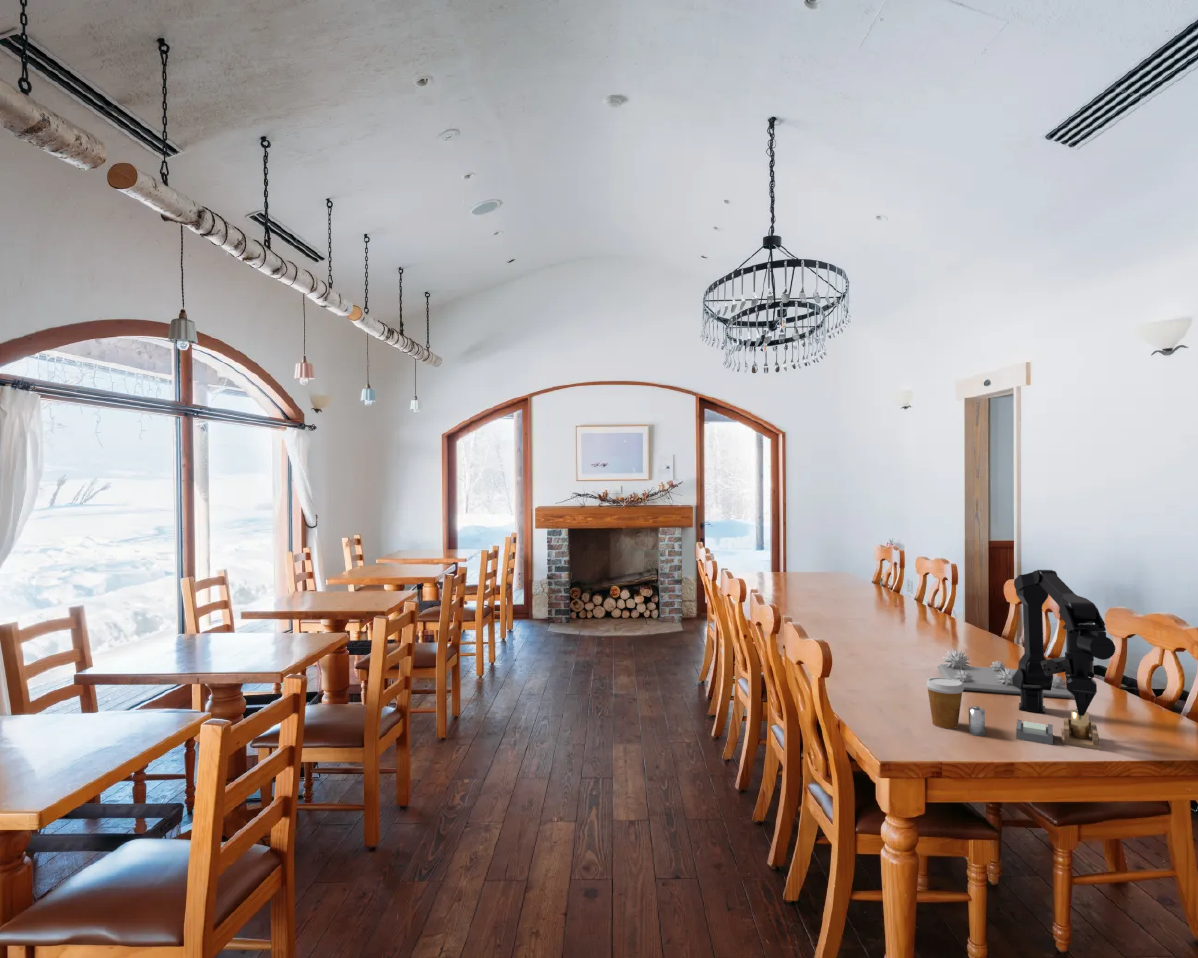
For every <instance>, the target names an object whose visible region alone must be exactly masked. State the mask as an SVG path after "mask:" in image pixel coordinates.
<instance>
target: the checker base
mask: <svg viewBox="0 0 1198 958" xmlns="http://www.w3.org/2000/svg"><path fill="white" fill-rule="evenodd" d="M1022 721H1023V720H1022V719H1019V718H1018V719H1017V720H1016V728H1015V729H1016V730H1015V731H1016V732H1015V733H1016V736H1015V737H1016V739H1017V740H1020V741H1026V742H1033V743H1040V744H1046V745H1051V746H1054V737H1053V736H1054V730H1053V729H1054V727H1053V726H1054V725H1053V724H1051V723H1047V726H1046V734H1042V733H1036V732H1029V731H1023V723H1024V722H1022Z"/></svg>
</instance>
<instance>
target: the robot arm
mask: <svg viewBox="0 0 1198 958" xmlns="http://www.w3.org/2000/svg"><path fill="white" fill-rule="evenodd" d="M1013 586H1014V589H1015V594H1016V596H1017V599H1019V601H1020V602H1021V604H1022V615H1023V617H1022V618H1023V643H1024V644H1023V645H1024V646H1023V647H1024V648H1023V649H1024V650H1023V651H1024V653H1023V655H1022V656H1021V658H1020V659H1019V661H1018V665H1017V668H1018V669H1017V671H1016V673H1015V675H1014V676H1013V678H1012V681H1013V686H1015V687H1017V688H1018V689H1020V694H1019V695H1020V702H1019V703H1018V710H1020V711H1024V712H1025V711H1027V712H1033V713H1040V714H1045V713H1046V706H1045V705H1044V696H1043V690H1049V691H1051V687H1052V682H1053V678H1054V675H1055V674H1056V675H1058V674H1061V673H1064V675H1065V683H1066V685H1065V687H1066V688H1067V690H1068V691H1069V692H1071V693H1072V694H1073V697H1074V702H1075V705H1076V709H1077V710H1078V715H1080V716H1084V714H1085V713H1086V712H1088V711H1087V710H1088V708H1089V707H1090V705H1091V703H1092V702H1093V699H1094V698H1095V696H1096V695H1097V693H1098V691H1097V690H1098V689H1097V681H1095V679H1094V678H1095V673H1094V661H1095V659H1098V660H1101V661H1102V660H1103V661H1104V660H1105V661H1106V660H1108V659H1110V658H1112V657H1113V656H1114V654H1115V652H1116V645H1115V643H1114V642H1113V640H1112V639H1111V638H1109V637H1107V632H1106V631H1107V629H1106V623H1105V621H1104V620H1103V617H1102V615H1101V613H1100V611H1099V609H1098V607H1097V606H1096V604H1095V603H1094V602H1093V601H1091V600H1090V599H1088V598H1087V597H1084V596H1080V595H1077V594H1076V593H1075V592H1074V591H1073V590H1072V589H1071V588H1070V587H1069V586H1068V585H1067V584H1066V583H1065V582H1064V581H1063V580H1062V579H1061V578H1060V577H1059V575H1058V573H1057V572H1056V571H1055V570H1052V569H1037V570H1034V571H1032V572H1028V573H1025V574H1019V575H1018V576H1017V577H1016V578H1015V579H1014V582H1013ZM1049 596H1050V598H1051V599H1052V600H1053V601H1054V602H1055V603H1056V604H1057V605H1058V608H1059V609H1058V614H1059V616H1060V617H1061V619H1062V620H1063V621H1064V623H1065V624H1064V625H1063V626H1062V629H1063V630H1065V632H1066V635H1065V638H1066V639H1065V640H1066V641H1065V643H1066V649H1065V652H1064V656H1061V657H1060V656H1059V657H1054V658H1049V659H1047V658H1046V657H1045V652H1044V651H1045V649H1044V648H1045V647H1044V623H1043V622H1044V621H1043V620H1044V619H1043V616H1044V615H1043V605H1044V604H1045V602H1046V601H1047V599H1048V598H1049Z"/></svg>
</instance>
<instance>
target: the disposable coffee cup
mask: <svg viewBox="0 0 1198 958" xmlns="http://www.w3.org/2000/svg"><path fill="white" fill-rule="evenodd" d="M926 681H927V682H925V686H926V688H927V693H928V699H929V701H928V702H929V706H930V713H931V714H930V715H931V720H932V724H933V725H934V726H936V727H938V728H943V729H950V730H951V729H956V728H958V727H959V720H960V714H961V713H960V712H961V706H962V704H961V703H962V697H963V692H964V691H965V690H964V687H963V685H962V682H960V681H958V680H955V679H951V678H944V677H943V676H938V677H937V676H935V677H929V678H927V680H926Z"/></svg>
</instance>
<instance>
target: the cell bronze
mask: <svg viewBox="0 0 1198 958" xmlns="http://www.w3.org/2000/svg"><path fill="white" fill-rule="evenodd" d="M1070 719H1071V736H1072V737H1074V738H1077V739H1082V740H1087V739H1089V721H1090V720H1089V719H1090V716H1089V712H1088V711H1086V713H1085V714H1084V716H1080V715H1078V710H1077V708H1076V709H1074V708H1073V709H1071V710H1070Z"/></svg>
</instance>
